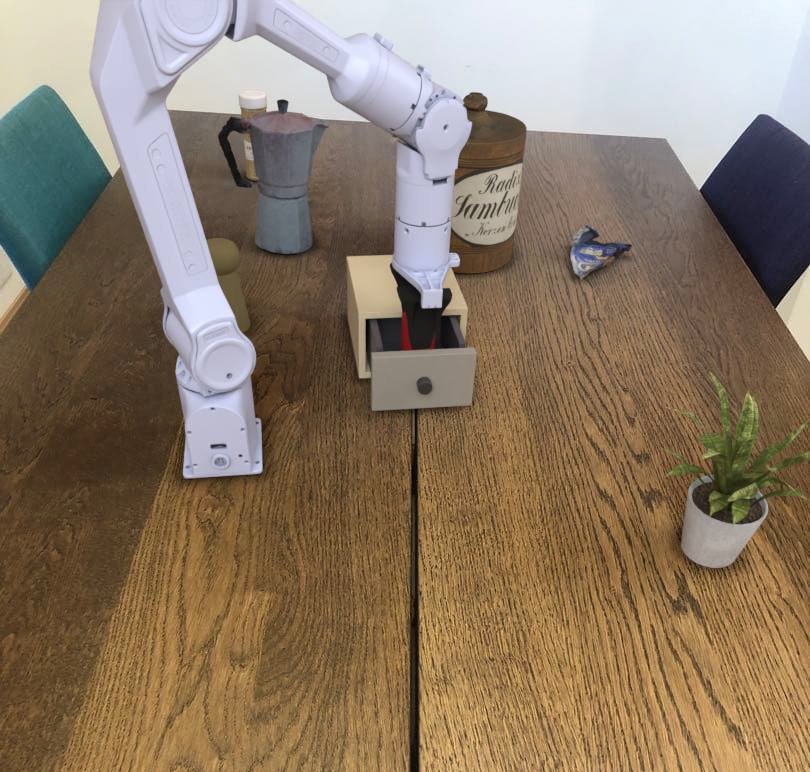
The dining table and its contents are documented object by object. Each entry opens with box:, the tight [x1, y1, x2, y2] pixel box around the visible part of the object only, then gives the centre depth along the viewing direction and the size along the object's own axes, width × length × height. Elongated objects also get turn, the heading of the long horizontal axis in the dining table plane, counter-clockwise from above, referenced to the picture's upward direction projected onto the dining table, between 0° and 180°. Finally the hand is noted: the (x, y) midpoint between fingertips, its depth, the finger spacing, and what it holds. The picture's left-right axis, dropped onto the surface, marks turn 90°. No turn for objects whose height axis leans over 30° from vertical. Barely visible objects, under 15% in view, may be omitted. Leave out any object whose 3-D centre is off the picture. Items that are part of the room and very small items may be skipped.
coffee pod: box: [401, 311, 435, 351], centre depth 91 cm, size 4×4×4 cm
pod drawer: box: [366, 315, 478, 412], centre depth 94 cm, size 15×11×7 cm
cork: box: [206, 237, 252, 334], centre depth 102 cm, size 6×6×11 cm
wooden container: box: [449, 91, 528, 275], centre depth 116 cm, size 15×15×22 cm
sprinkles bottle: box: [238, 89, 268, 182], centre depth 139 cm, size 5×5×13 cm
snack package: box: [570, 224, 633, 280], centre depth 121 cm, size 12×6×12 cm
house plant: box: [658, 370, 810, 569], centre depth 73 cm, size 14×14×16 cm
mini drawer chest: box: [346, 254, 469, 379], centre depth 101 cm, size 15×13×9 cm
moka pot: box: [217, 98, 329, 255], centre depth 117 cm, size 10×15×20 cm, turn 112°
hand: (417, 337), depth 91 cm, fingers closed on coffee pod, 4 cm apart
